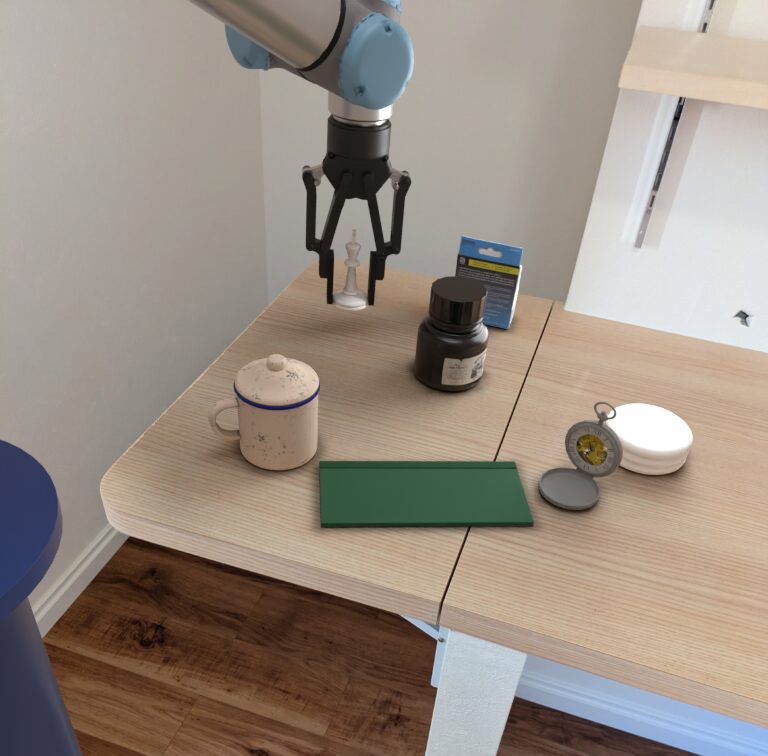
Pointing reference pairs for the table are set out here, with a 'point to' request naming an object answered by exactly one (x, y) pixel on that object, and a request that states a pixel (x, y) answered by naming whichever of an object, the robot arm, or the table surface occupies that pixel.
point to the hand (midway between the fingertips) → (350, 300)
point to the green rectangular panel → (422, 494)
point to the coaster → (650, 438)
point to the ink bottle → (453, 335)
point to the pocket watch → (583, 464)
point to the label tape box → (492, 276)
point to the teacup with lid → (274, 412)
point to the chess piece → (351, 281)
